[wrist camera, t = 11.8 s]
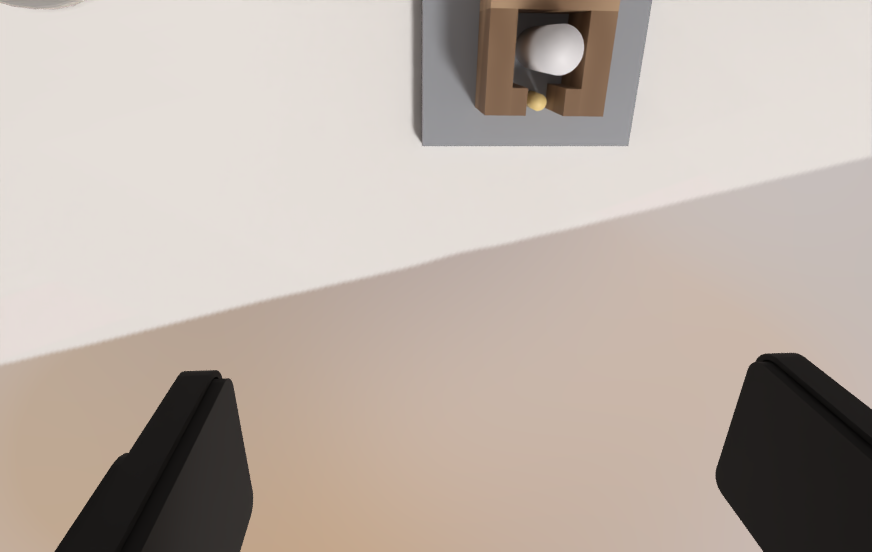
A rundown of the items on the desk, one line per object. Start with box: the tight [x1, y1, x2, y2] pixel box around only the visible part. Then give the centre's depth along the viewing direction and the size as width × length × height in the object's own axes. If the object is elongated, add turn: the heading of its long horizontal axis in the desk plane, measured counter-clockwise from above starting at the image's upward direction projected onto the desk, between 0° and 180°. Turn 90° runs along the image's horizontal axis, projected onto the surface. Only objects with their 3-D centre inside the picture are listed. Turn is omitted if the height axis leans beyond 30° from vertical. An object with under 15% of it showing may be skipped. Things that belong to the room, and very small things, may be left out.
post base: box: [422, 0, 652, 146], centre depth 30 cm, size 14×12×6 cm
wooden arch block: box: [475, 0, 620, 117], centre depth 30 cm, size 7×7×4 cm
